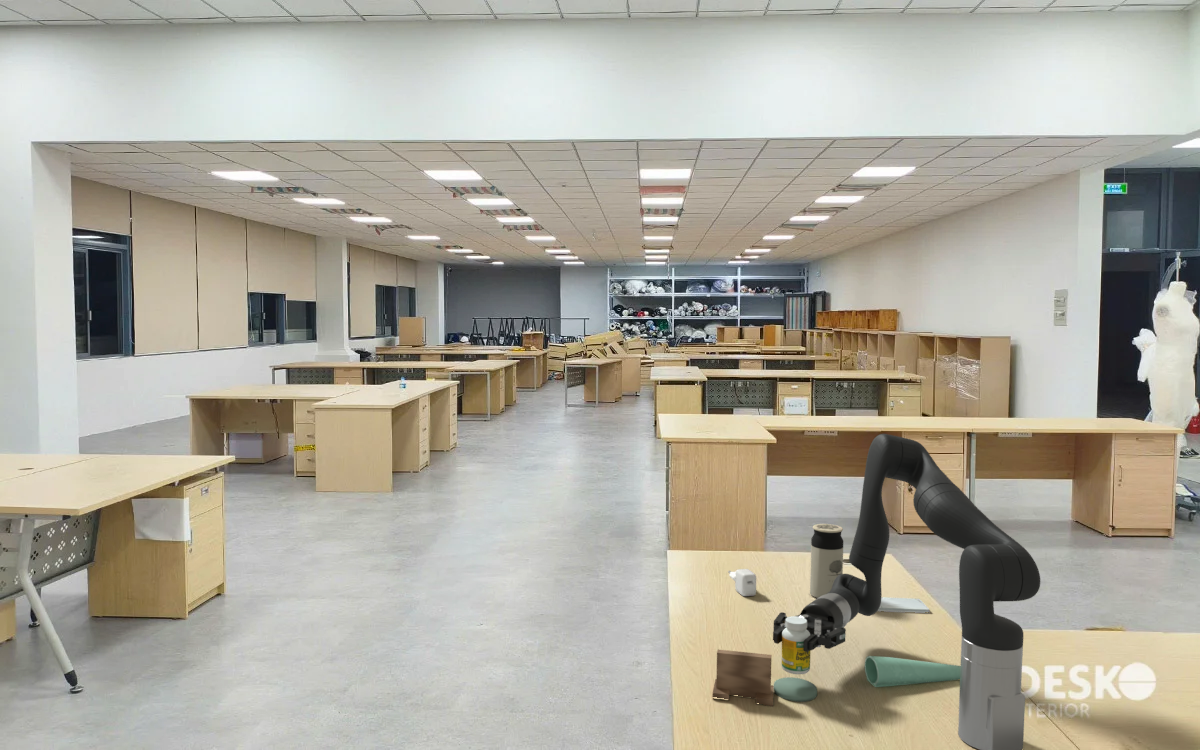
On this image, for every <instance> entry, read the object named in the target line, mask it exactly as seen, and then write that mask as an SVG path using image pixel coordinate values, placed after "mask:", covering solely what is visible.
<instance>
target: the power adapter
mask: <svg viewBox="0 0 1200 750" xmlns="http://www.w3.org/2000/svg"><path fill="white" fill-rule="evenodd" d="M727 572H728V574H729V577H730V579H732V580H733V581H734V582H735V583H734V588H735V591H736V592H737V593H739V594H740V595H741V596H742V597H752V596H753V597H754V596H756V594H757V575H756V574H755V573H754V571H752V570H751V569H749V568H739V569H736V570H735V571H731V570H728V571H727Z"/></svg>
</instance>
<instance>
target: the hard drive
mask: <svg viewBox="0 0 1200 750" xmlns="http://www.w3.org/2000/svg"><path fill="white" fill-rule="evenodd" d="M881 611H884V613H886V612H887V613H905V612H915V613H914V614H926V613H925V612H929V613H930V608H929V607H928V606H927V605H926V604H925V602H923V601H922V600H921V599H920V598H909V597H908V598H907V597H890V596H889V597H884V596H883V597H882V596H881V604H880V607H879V609H878V611H877V612H881Z"/></svg>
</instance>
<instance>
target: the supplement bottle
mask: <svg viewBox="0 0 1200 750" xmlns="http://www.w3.org/2000/svg"><path fill="white" fill-rule="evenodd" d="M785 625H786V627H787V628H785V629H784V630H783V631H782V642H781V668H782V670H783V671H784V672H786V673H789V674H792V675H806V674H808V673H809V672H810V669H811V650H810V651H809V652H805V651H804V650H803V646H804V640H805V639H806V638H808V637H809V636H810V633H809V631H808V630H807V620H806V619H805V618H802V617H798V616H797V615H792V616H787V618H786V623H785Z"/></svg>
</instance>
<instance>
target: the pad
mask: <svg viewBox="0 0 1200 750" xmlns="http://www.w3.org/2000/svg"><path fill="white" fill-rule="evenodd" d="M773 685H774V692H773V693H775V695H776V696H778V698H779V697H780V698H781V699H784V700H787V701H792V702H797V703H799V702H802V703H803V702H810V701H813V700H814V699H815V698H817V696H818V688H817V686H816V685H815V684H814V683H813V682H811V681H809V680H807V679H803V678H799V677H789V676H788V677H782V678H778V679H776V680H775V681H774V682H773Z"/></svg>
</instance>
